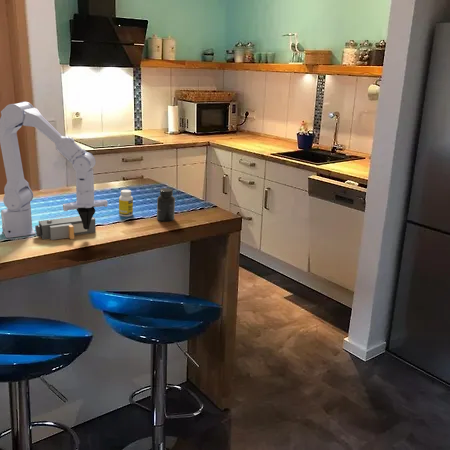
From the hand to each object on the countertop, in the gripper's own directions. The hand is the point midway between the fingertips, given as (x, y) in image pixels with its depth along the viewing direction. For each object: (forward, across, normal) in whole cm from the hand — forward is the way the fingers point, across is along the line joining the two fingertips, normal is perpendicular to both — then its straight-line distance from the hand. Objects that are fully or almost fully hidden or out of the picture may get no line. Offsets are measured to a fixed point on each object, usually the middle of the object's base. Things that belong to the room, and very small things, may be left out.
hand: (86, 228), depth 170 cm
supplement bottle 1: (+4, +22, +18) cm, 29 cm away
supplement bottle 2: (+3, +34, +7) cm, 34 cm away
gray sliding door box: (+3, -4, +6) cm, 9 cm away
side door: (+3, -8, +2) cm, 9 cm away
